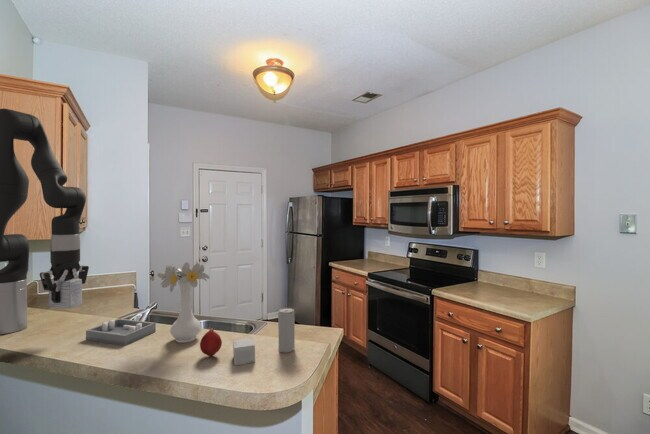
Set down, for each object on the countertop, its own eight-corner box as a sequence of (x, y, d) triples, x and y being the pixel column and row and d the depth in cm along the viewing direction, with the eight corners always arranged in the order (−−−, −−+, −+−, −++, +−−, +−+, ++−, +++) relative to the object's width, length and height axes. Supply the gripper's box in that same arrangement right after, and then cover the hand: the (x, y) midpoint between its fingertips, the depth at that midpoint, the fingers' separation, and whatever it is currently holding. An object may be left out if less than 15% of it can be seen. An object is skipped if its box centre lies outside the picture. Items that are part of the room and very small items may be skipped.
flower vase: (177, 328, 113) (176, 258, 113) (220, 336, 107) (219, 260, 106) (144, 342, 101) (144, 263, 101) (191, 352, 95) (190, 267, 94)
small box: (233, 356, 92) (232, 339, 92) (253, 354, 94) (253, 337, 94) (233, 366, 87) (233, 347, 86) (255, 362, 88) (255, 345, 88)
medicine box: (82, 304, 106) (82, 278, 106) (70, 309, 102) (70, 281, 102) (60, 303, 107) (60, 277, 107) (48, 307, 103) (48, 280, 103)
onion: (201, 362, 88) (201, 333, 88) (198, 354, 93) (198, 327, 93) (223, 358, 91) (223, 330, 91) (219, 350, 96) (219, 323, 96)
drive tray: (85, 339, 104) (85, 327, 104) (119, 326, 115) (119, 315, 115) (125, 345, 99) (125, 332, 99) (155, 331, 111) (155, 320, 111)
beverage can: (297, 347, 98) (297, 308, 98) (290, 354, 93) (290, 313, 93) (282, 345, 99) (282, 307, 99) (275, 352, 95) (275, 311, 95)
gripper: (79, 245, 112) (79, 293, 113) (31, 250, 98) (32, 305, 99) (95, 246, 110) (95, 295, 110) (49, 251, 96) (49, 308, 97)
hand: (65, 300), depth 105 cm, fingers closed on medicine box, 5 cm apart
